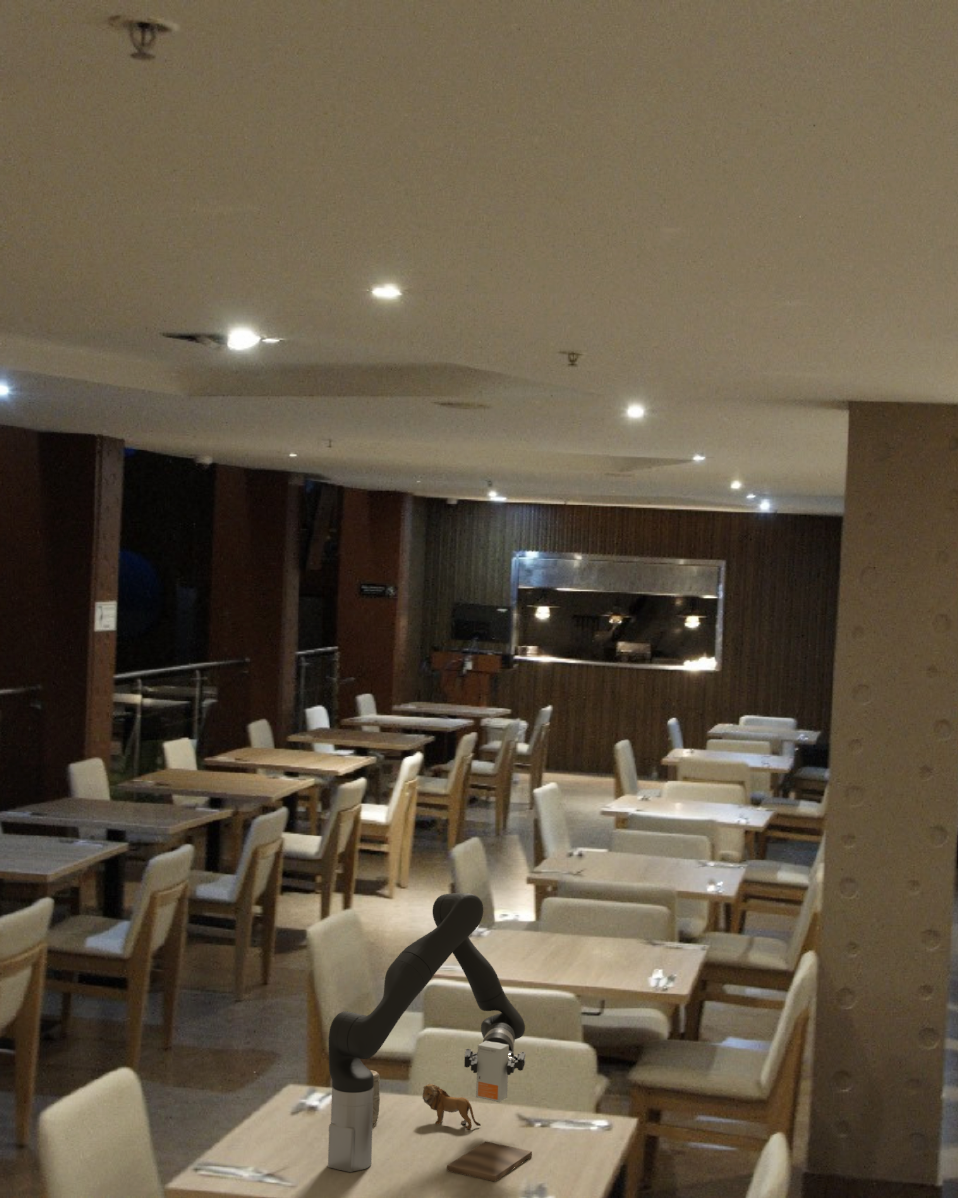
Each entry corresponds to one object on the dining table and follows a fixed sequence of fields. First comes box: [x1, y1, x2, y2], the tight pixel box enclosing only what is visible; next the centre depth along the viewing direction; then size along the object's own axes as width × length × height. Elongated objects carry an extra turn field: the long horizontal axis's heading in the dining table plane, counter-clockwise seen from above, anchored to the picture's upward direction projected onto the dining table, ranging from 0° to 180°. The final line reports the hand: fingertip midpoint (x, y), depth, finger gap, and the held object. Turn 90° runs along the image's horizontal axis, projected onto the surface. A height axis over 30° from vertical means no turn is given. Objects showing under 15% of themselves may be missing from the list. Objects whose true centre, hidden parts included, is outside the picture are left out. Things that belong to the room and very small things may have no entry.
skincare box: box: [475, 1041, 509, 1103], centre depth 350 cm, size 6×4×12 cm
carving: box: [369, 1069, 381, 1125], centre depth 375 cm, size 6×8×12 cm
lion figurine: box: [421, 1083, 481, 1130], centre depth 376 cm, size 15×5×9 cm, turn 75°
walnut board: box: [446, 1141, 533, 1183], centre depth 350 cm, size 18×12×1 cm, turn 152°
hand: (492, 1069), depth 348 cm, fingers closed on skincare box, 7 cm apart
